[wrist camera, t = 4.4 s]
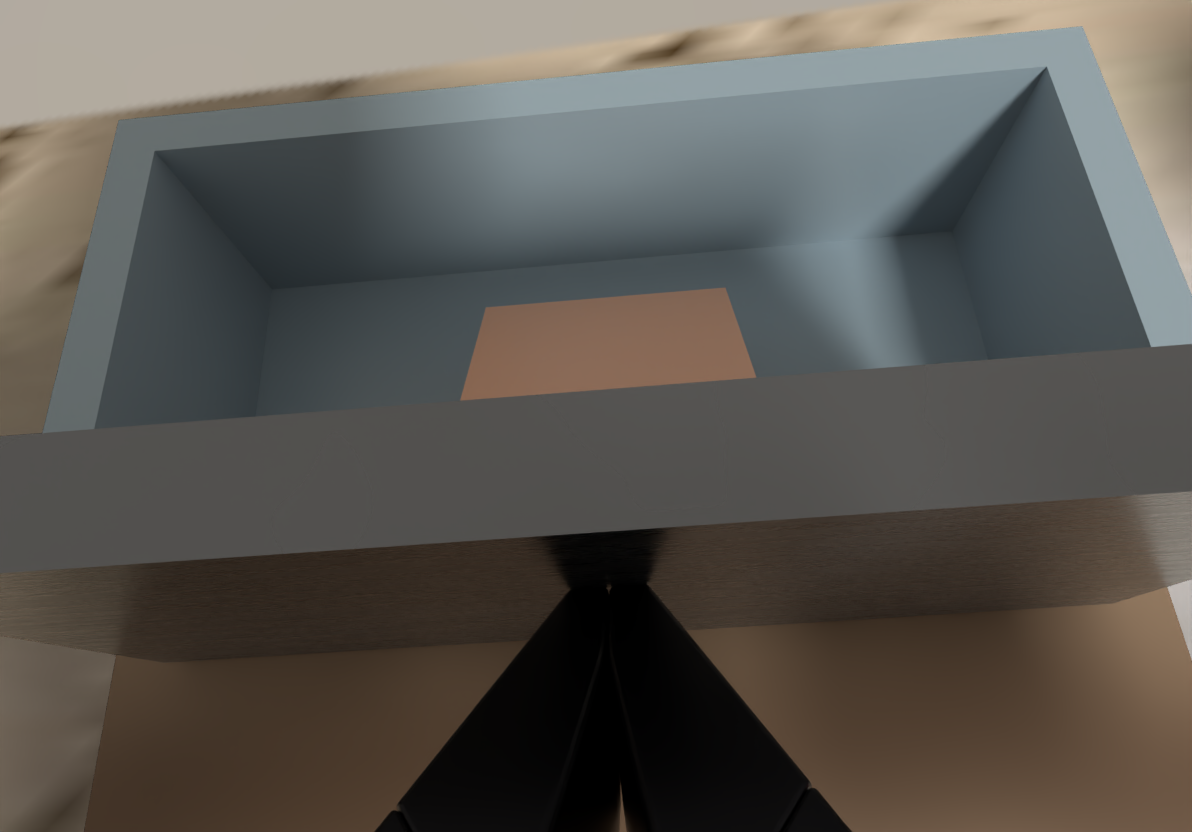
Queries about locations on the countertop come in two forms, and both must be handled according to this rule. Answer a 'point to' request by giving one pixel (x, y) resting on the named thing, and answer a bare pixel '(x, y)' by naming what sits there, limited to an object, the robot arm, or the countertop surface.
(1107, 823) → the raised board
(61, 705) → the countertop surface
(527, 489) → the grey flat plank
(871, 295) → the box
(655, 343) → the tile
